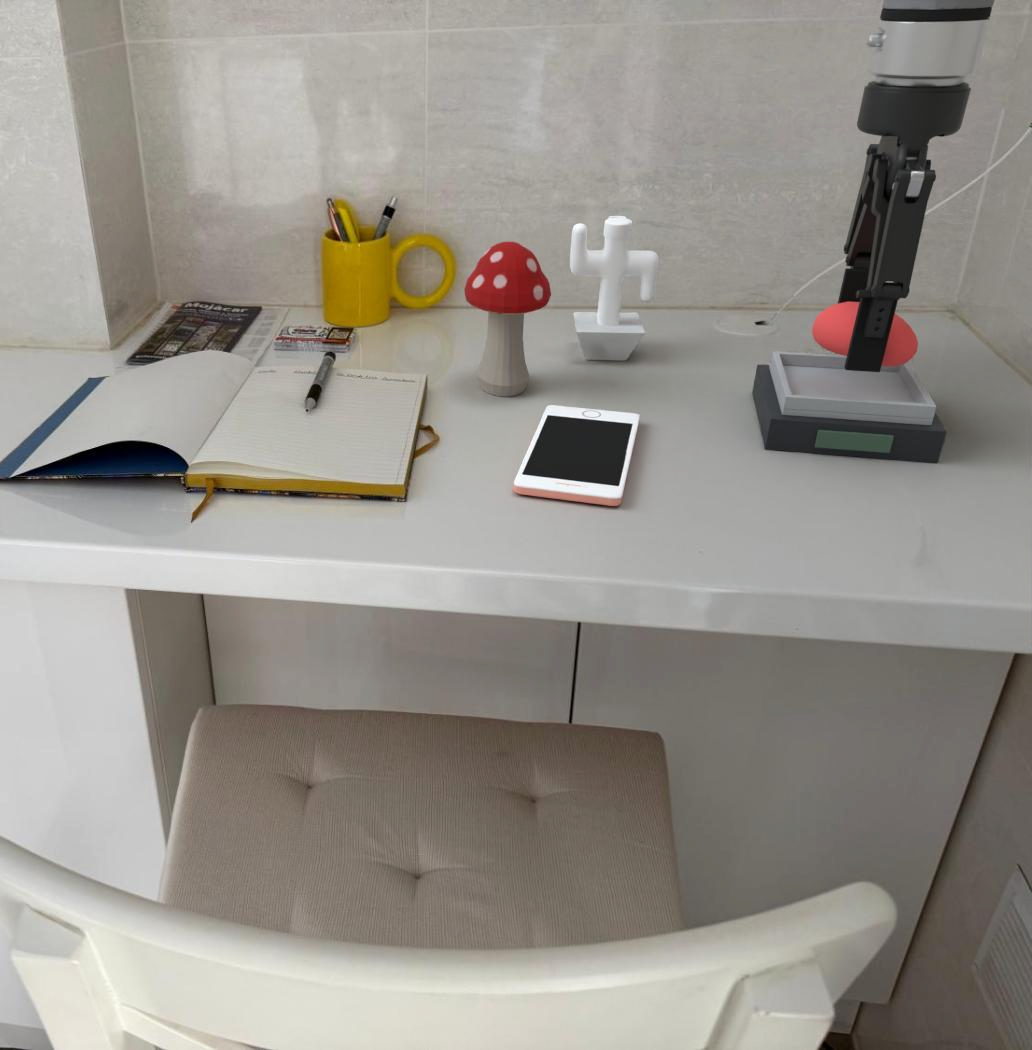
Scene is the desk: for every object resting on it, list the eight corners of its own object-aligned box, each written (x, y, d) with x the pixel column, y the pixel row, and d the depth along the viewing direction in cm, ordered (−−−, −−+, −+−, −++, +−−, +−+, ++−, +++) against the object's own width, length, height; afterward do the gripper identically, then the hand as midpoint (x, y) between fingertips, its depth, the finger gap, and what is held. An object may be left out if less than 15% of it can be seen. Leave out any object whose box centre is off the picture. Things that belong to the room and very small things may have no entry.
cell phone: (639, 422, 95) (640, 413, 95) (620, 508, 80) (621, 497, 80) (546, 412, 98) (547, 403, 97) (511, 494, 83) (512, 484, 83)
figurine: (651, 365, 109) (669, 226, 101) (563, 363, 110) (575, 226, 103) (643, 343, 115) (660, 210, 107) (560, 342, 116) (571, 211, 109)
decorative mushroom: (554, 401, 101) (566, 253, 93) (470, 406, 100) (475, 257, 93) (532, 367, 109) (541, 229, 102) (454, 371, 109) (458, 233, 102)
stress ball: (849, 390, 87) (905, 334, 83) (788, 326, 92) (838, 270, 88) (882, 398, 89) (937, 343, 85) (820, 335, 95) (870, 281, 91)
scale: (904, 402, 97) (916, 355, 95) (938, 464, 86) (953, 413, 83) (752, 392, 101) (760, 347, 99) (765, 450, 89) (774, 401, 87)
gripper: (846, 67, 88) (795, 316, 99) (892, 95, 71) (825, 392, 82) (940, 66, 86) (878, 320, 98) (1010, 94, 69) (925, 399, 80)
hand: (853, 353), depth 90 cm, fingers closed on stress ball, 8 cm apart
